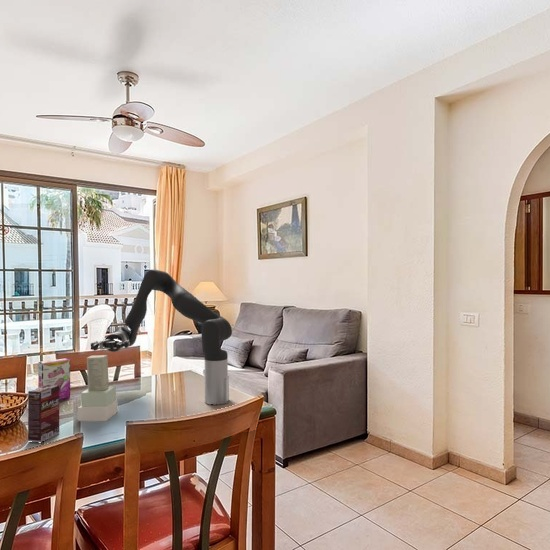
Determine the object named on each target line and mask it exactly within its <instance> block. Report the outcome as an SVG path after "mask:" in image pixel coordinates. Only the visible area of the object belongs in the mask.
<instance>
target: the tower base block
mask: <svg viewBox="0 0 550 550" xmlns="http://www.w3.org/2000/svg"><path fill="white" fill-rule="evenodd" d="M118 410H119V409H118V399H117V398H116V400H114V401H113V402H112V403H111V404H109V405H108V406H107V407H81V405H80V406H78V407H77V422H107V421H108V420H109V419H111V418H112V417H113V416H115V414H116V412H117V413H118Z"/></svg>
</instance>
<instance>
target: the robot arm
mask: <svg viewBox="0 0 550 550" xmlns="http://www.w3.org/2000/svg"><path fill="white" fill-rule="evenodd" d="M152 291H158V292H162V293H164V294H165V295H166V296H168V297H169V298H170V300H171V303H172V304H171V305H172V307H174V309H175V310H176V311H177V312H179V314H180V315H182V316H183V317H186V318H187V319H189V320H191V321H194V322H197V323H200V324H202V325H201V346H202V347H201V348H202V354H203V355H204V356H203V357H204V403H205V404H207V405H211V404H213V405H215V406H217V405H224V404H227V403H228V402H229V400H230V380H229V379H230V377H229V373H228V372H229V371H228V369H229V368H228V365H229V364H228V363H229V360H228V351H227V350H225V349H221V347H220V345H221V344H220V342H224V341H226V340H228V339H230V338H231V337H232V334H233V330H232V329H233V328H232V325H231V324H230V322H229V321H228V320H227V319H226V318H224V317H223V316H221V315H219V314H218V313H217V312H215V311H213V310H212V309H211V308H209V307H208V306H207V305H206V304H204V303H203V302H202V301H201V300H200V299H198V298H197V297H195V295H193V294H192V293H191V292H189V291H188V290H187V289H186V288H184V287H182V285H180V284H179V283H178V282H177V281H176V280H175V279H174V278H173V277H172V276H171V275H170V274H169V273H168V272H166V271H163V270H158V269H153V268H152V269H148V270H147V271H146V272H145V274H144V276H143V278H142V280H141V283H140V286H139V288H138V292H137V295H136V297H135V299H134V302H133V305H132V307H131V309H130V310H129V312H128V314H127V316H126V318H125V319H124V324H125V326H127V327H128V328H129V329H128V328H126V327H125V326H121V325H119V326H118V327H116V328H115V329H114V331H113V332H112V333H110V334H109V335H107V336H106V337H105V339H104V340H100V341H98V340H96V341H93V342H91V343H90V350H92V351H98V350H101V351H103V350H107V351H109V352H113V353H116V352H118V351H120V350H121V349H123V348H125V349H127V348H129V347H131V346H133V345H134V344H135V343H136V341H137V337H138V333H139V328H140V326H141V324H142V323H143V321H144V319H145V318H146V315H147V312H148V309H147V308H148V305H147V304H148V303H147V302H148V297H149V295H151V294H150V293H151V292H152ZM216 404H217V405H216Z"/></svg>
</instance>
